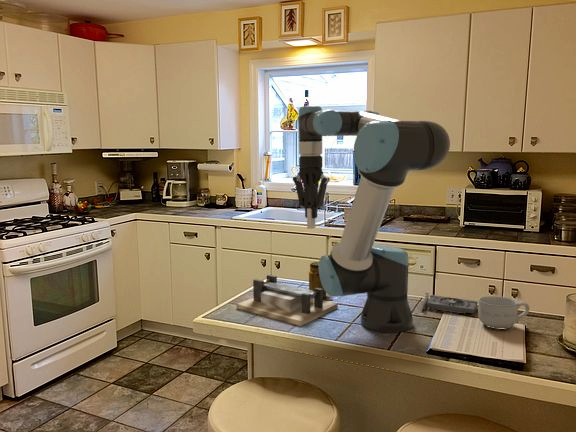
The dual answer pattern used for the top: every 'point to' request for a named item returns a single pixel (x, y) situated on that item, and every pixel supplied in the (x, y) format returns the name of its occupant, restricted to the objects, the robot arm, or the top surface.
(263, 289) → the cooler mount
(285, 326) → the top surface
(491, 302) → the teacup
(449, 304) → the graphics card
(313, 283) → the condiment
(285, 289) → the retention strap
